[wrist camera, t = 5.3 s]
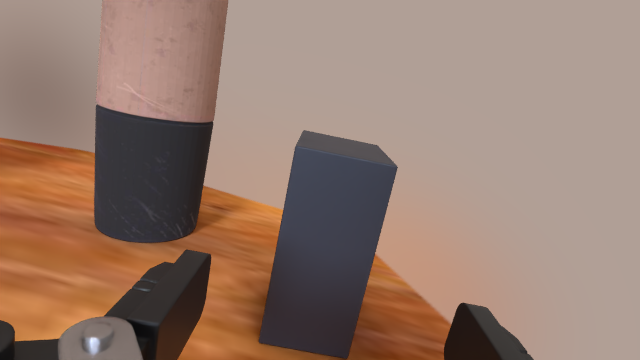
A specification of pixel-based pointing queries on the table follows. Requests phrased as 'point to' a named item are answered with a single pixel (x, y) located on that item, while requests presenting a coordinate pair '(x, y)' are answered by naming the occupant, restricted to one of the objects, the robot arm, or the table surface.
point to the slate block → (326, 243)
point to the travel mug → (155, 114)
